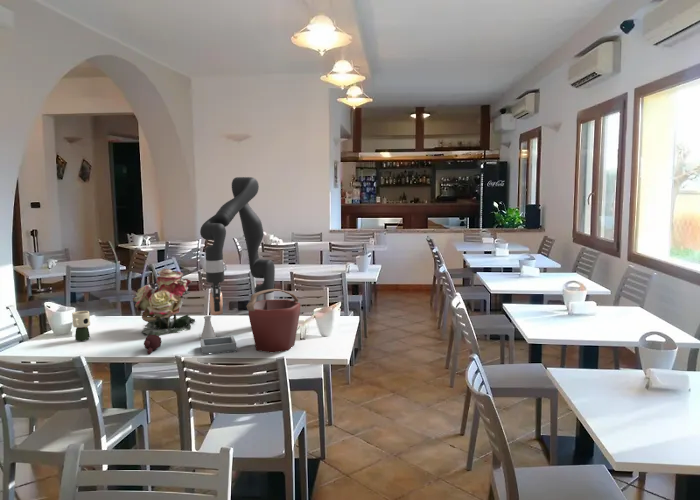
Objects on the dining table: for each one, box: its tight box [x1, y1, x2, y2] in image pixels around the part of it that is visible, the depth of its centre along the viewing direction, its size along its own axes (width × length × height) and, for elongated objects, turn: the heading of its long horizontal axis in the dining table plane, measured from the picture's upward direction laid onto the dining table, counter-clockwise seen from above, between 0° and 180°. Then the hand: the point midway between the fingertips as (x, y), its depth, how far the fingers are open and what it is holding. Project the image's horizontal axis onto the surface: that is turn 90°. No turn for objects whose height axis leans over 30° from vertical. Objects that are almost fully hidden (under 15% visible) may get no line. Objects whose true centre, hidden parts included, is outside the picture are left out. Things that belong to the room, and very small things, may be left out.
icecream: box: [143, 335, 162, 355], centre depth 245 cm, size 7×7×15 cm
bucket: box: [245, 288, 301, 353], centre depth 246 cm, size 24×22×25 cm
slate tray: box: [200, 335, 237, 355], centre depth 245 cm, size 14×12×4 cm
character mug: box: [71, 310, 91, 342], centre depth 261 cm, size 11×7×13 cm, turn 0°
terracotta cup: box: [209, 291, 224, 316], centre depth 242 cm, size 5×5×9 cm
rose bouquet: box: [132, 267, 196, 337], centre depth 277 cm, size 26×29×30 cm
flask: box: [200, 315, 217, 340], centre depth 262 cm, size 7×7×10 cm
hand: (216, 309), depth 243 cm, fingers closed on terracotta cup, 5 cm apart
